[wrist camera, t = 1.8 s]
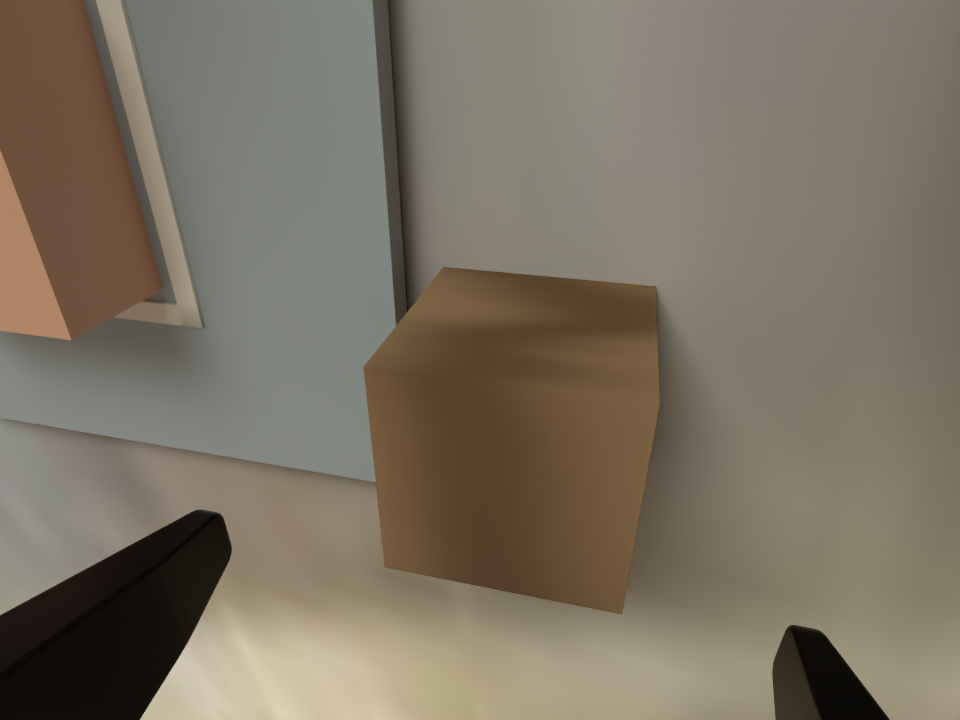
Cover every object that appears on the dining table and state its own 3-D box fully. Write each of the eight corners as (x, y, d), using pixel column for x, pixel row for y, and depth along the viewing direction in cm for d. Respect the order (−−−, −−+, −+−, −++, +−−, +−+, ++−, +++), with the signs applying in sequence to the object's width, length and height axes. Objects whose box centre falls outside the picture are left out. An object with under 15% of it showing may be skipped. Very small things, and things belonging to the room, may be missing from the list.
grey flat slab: (380, -123, 11) (360, -132, 10) (416, 470, 18) (406, 489, 17) (-253, -95, 14) (-303, -101, 14) (-15, 399, 21) (-41, 413, 21)
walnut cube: (655, 285, 14) (659, 404, 10) (628, 458, 16) (621, 614, 12) (444, 266, 15) (363, 366, 11) (449, 431, 17) (385, 567, 13)
